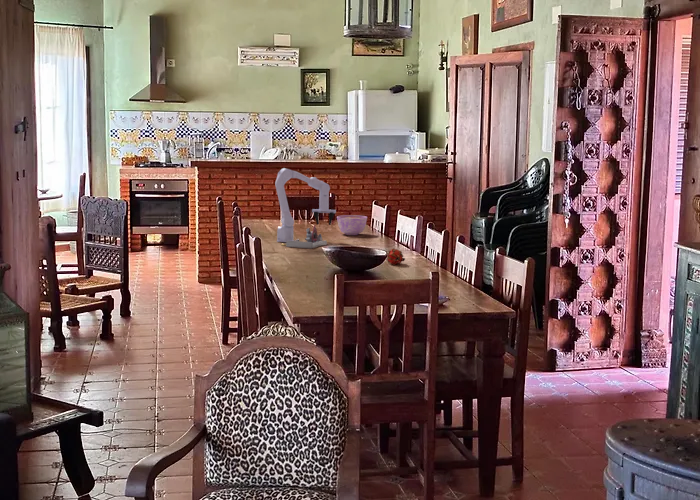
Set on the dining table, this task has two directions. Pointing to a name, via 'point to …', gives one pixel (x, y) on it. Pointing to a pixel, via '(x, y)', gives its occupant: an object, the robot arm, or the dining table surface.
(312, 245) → the receiver
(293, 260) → the dining table surface
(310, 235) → the brake caliper
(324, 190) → the robot arm
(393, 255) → the dragon fruit
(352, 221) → the purple rounded bowl
